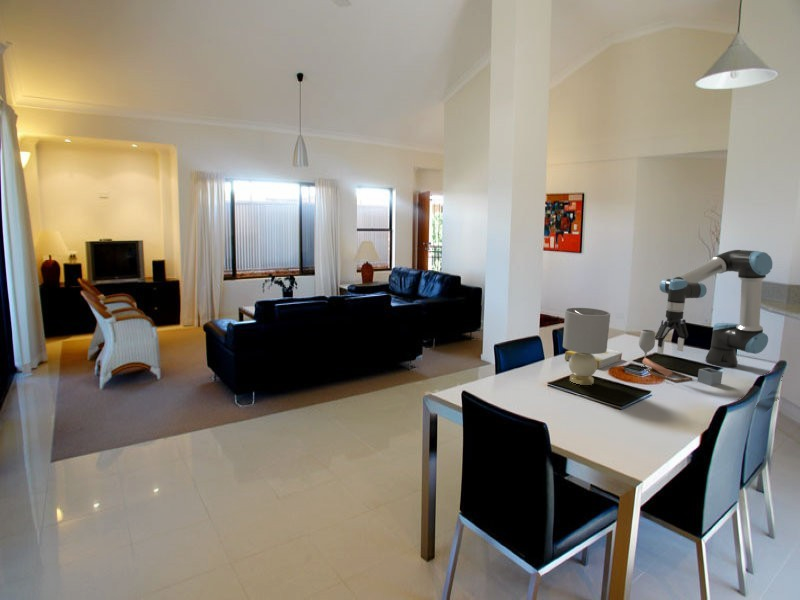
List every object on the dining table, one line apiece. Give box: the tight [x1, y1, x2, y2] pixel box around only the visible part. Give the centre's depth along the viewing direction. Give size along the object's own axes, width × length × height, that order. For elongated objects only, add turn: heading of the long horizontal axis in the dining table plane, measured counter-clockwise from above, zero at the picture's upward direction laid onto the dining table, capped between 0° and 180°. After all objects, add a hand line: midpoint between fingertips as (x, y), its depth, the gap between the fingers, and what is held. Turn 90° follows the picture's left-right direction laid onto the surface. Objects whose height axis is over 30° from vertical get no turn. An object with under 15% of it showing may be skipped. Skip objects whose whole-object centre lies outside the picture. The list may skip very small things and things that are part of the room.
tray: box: [644, 368, 693, 386], centre depth 247 cm, size 12×18×2 cm, turn 22°
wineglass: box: [638, 329, 656, 367], centre depth 260 cm, size 8×8×21 cm
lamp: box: [562, 307, 611, 386], centre depth 235 cm, size 20×20×35 cm
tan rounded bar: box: [641, 357, 673, 378], centre depth 253 cm, size 8×3×16 cm
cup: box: [696, 367, 723, 387], centre depth 237 cm, size 7×7×8 cm
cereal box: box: [564, 348, 623, 370], centre depth 276 cm, size 20×6×28 cm
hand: (670, 351), depth 245 cm, fingers open, 13 cm apart
